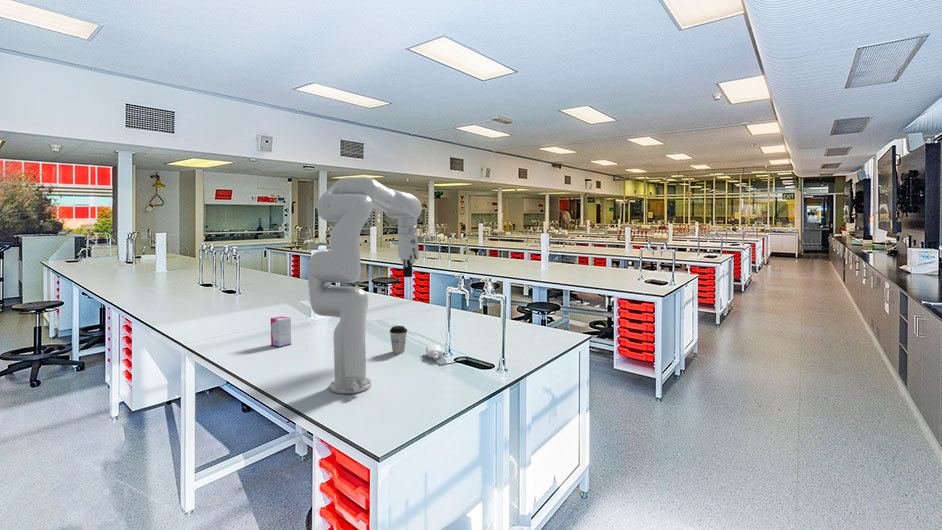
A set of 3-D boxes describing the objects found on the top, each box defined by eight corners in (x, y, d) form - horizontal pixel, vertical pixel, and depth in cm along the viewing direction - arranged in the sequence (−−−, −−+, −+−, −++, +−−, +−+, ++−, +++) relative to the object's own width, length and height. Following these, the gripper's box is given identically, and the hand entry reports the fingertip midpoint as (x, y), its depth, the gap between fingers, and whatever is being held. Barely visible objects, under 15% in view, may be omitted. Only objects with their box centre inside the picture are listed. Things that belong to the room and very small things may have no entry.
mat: (464, 361, 170) (464, 360, 170) (440, 365, 165) (440, 364, 165) (447, 352, 180) (447, 351, 180) (425, 356, 175) (425, 355, 175)
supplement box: (292, 344, 190) (291, 317, 188) (279, 347, 185) (278, 320, 183) (283, 342, 193) (282, 315, 191) (270, 345, 188) (269, 318, 186)
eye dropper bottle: (436, 356, 180) (440, 365, 168) (423, 350, 178) (426, 359, 167) (441, 346, 180) (445, 355, 168) (429, 340, 178) (432, 348, 167)
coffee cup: (402, 348, 185) (402, 324, 184) (410, 353, 180) (410, 328, 178) (386, 351, 181) (386, 326, 180) (394, 355, 176) (393, 330, 175)
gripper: (424, 231, 178) (424, 278, 180) (407, 230, 190) (408, 274, 192) (406, 231, 174) (407, 279, 176) (391, 230, 186) (391, 275, 188)
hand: (407, 276), depth 184 cm, fingers closed
